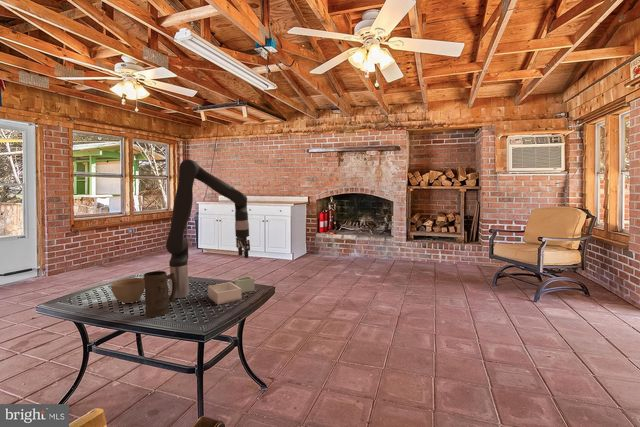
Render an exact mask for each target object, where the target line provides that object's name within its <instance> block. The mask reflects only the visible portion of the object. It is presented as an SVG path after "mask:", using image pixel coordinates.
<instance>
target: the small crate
mask: <svg viewBox="0 0 640 427" xmlns="http://www.w3.org/2000/svg"><path fill="white" fill-rule="evenodd" d="M234 284H235V285H236V286H238V287H240V288H241V294H243V293H244V294H245V293H248V292H252V291H253V292H255V290H256V289H255V277H252V276H250V275H248V276H247V275H246V276H244V277H237V278H234Z"/></svg>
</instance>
